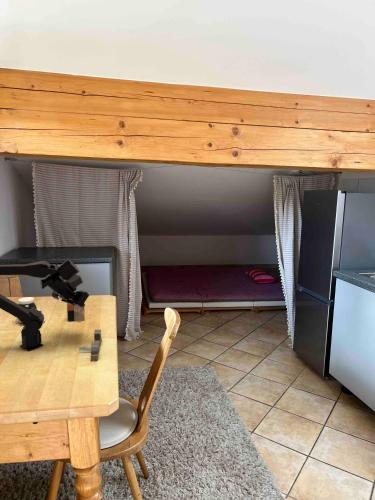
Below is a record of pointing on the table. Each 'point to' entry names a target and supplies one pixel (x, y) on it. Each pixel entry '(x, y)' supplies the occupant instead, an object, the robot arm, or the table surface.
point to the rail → (93, 346)
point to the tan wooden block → (79, 313)
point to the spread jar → (27, 305)
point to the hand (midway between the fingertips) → (81, 305)
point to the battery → (70, 312)
